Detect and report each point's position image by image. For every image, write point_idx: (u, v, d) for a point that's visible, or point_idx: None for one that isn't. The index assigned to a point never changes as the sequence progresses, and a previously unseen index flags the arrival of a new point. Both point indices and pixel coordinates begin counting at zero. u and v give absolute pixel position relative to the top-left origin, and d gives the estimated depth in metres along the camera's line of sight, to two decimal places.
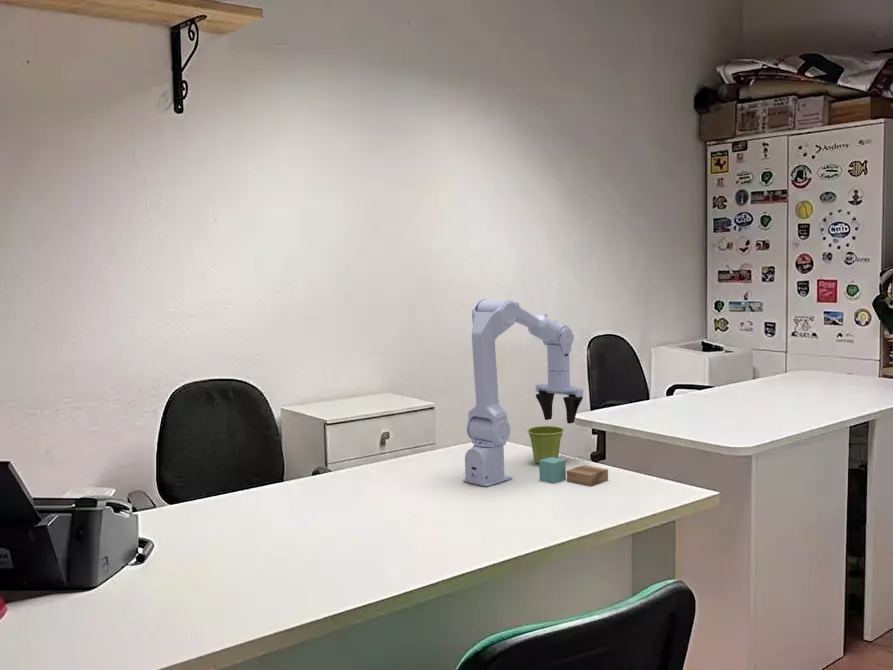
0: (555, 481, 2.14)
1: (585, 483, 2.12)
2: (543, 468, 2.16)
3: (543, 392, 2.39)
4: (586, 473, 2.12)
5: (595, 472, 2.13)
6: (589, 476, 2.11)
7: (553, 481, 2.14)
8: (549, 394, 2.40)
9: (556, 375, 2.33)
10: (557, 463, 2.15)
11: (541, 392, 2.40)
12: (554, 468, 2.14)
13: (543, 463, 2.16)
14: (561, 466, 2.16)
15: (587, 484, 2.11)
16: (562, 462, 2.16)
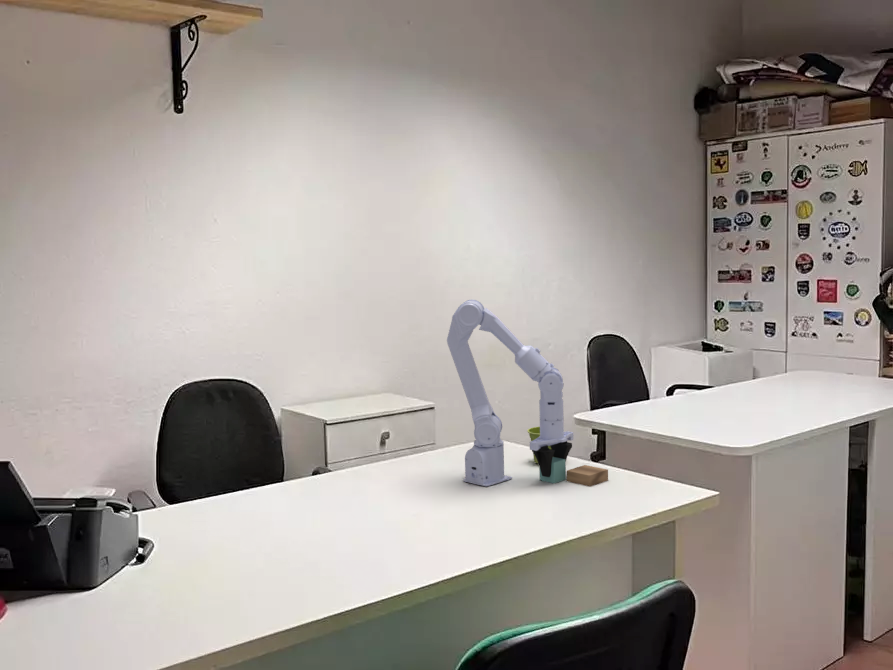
0: (555, 481, 2.14)
1: (584, 483, 2.12)
2: None
3: None
4: (586, 473, 2.12)
5: (595, 472, 2.13)
6: (588, 476, 2.11)
7: (553, 481, 2.14)
8: (560, 445, 2.18)
9: None
10: (557, 463, 2.15)
11: None
12: (554, 468, 2.14)
13: None
14: (561, 466, 2.16)
15: (586, 484, 2.11)
16: (562, 462, 2.16)
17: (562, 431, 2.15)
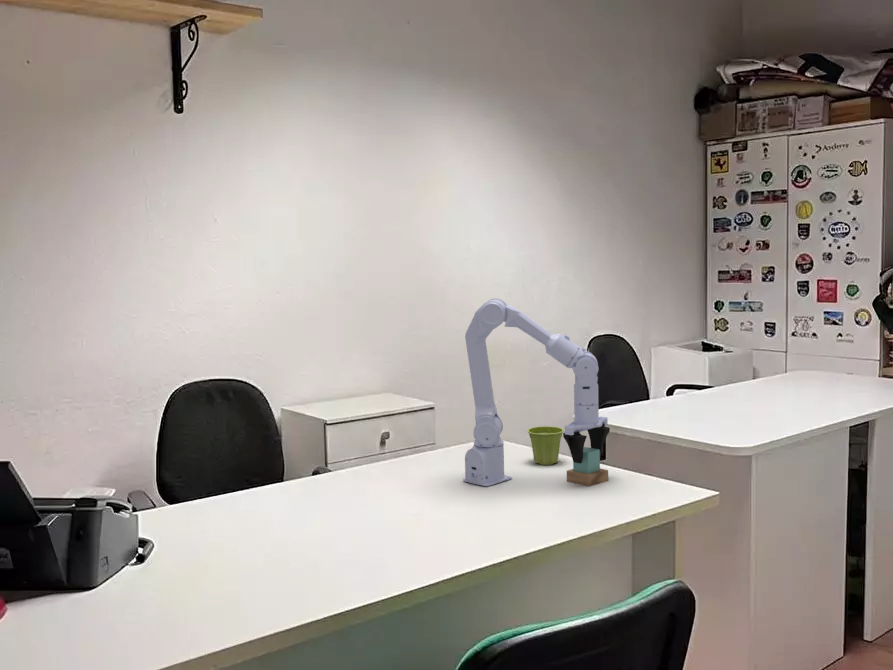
0: (589, 471, 2.12)
1: (584, 483, 2.12)
2: None
3: None
4: (585, 473, 2.12)
5: (594, 472, 2.13)
6: (588, 476, 2.11)
7: (587, 471, 2.12)
8: (597, 429, 2.16)
9: (574, 407, 2.15)
10: (591, 453, 2.13)
11: None
12: (588, 458, 2.12)
13: None
14: (595, 456, 2.14)
15: (586, 484, 2.11)
16: (596, 452, 2.14)
17: (597, 416, 2.12)
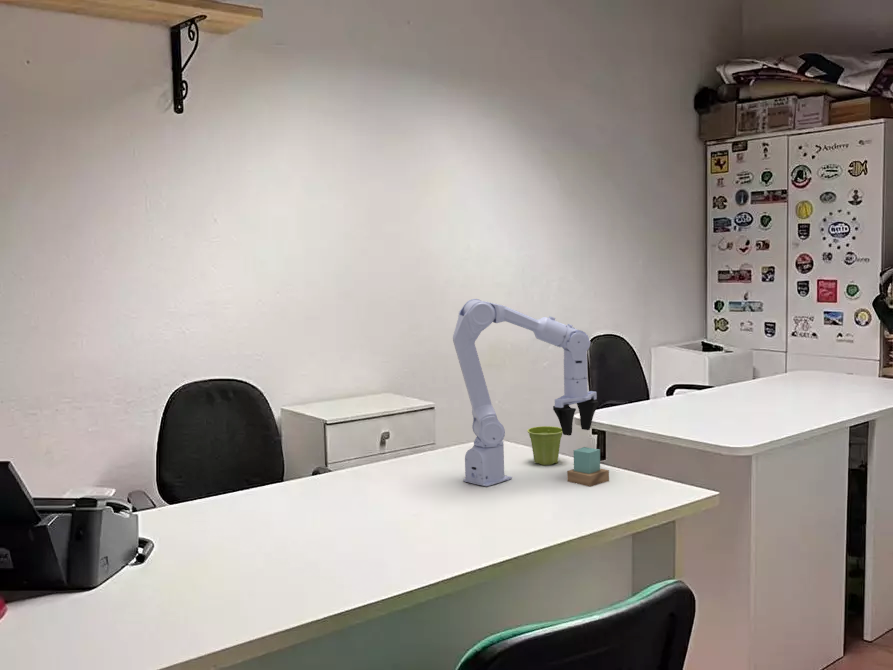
0: (590, 471, 2.12)
1: (584, 483, 2.12)
2: (578, 458, 2.14)
3: None
4: (586, 474, 2.12)
5: (595, 473, 2.13)
6: (588, 477, 2.10)
7: (588, 471, 2.12)
8: (587, 403, 2.23)
9: None
10: (592, 453, 2.13)
11: None
12: (589, 458, 2.12)
13: (577, 453, 2.14)
14: (596, 456, 2.14)
15: (587, 485, 2.11)
16: (597, 452, 2.14)
17: (586, 389, 2.19)
